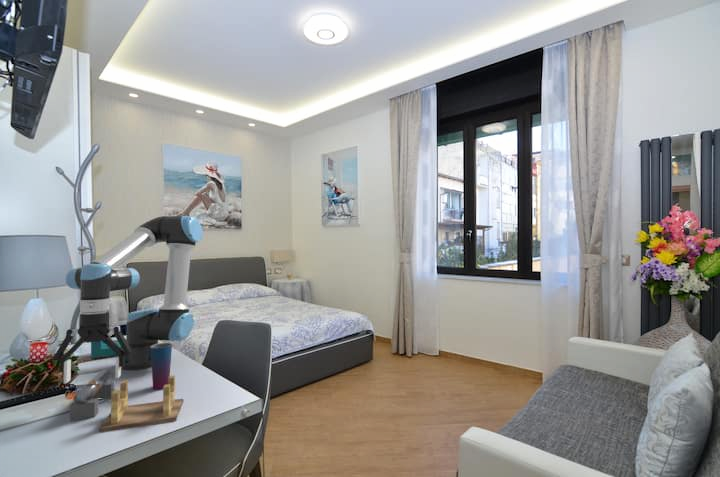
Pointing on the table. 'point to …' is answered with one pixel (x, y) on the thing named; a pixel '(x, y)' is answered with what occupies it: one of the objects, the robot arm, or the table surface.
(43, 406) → the table surface
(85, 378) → the hard drive
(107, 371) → the brushed aluminium bar
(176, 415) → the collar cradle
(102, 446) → the table surface
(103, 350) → the teal l-shaped bracket
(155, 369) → the cup
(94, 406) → the grey blocks
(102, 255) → the robot arm
